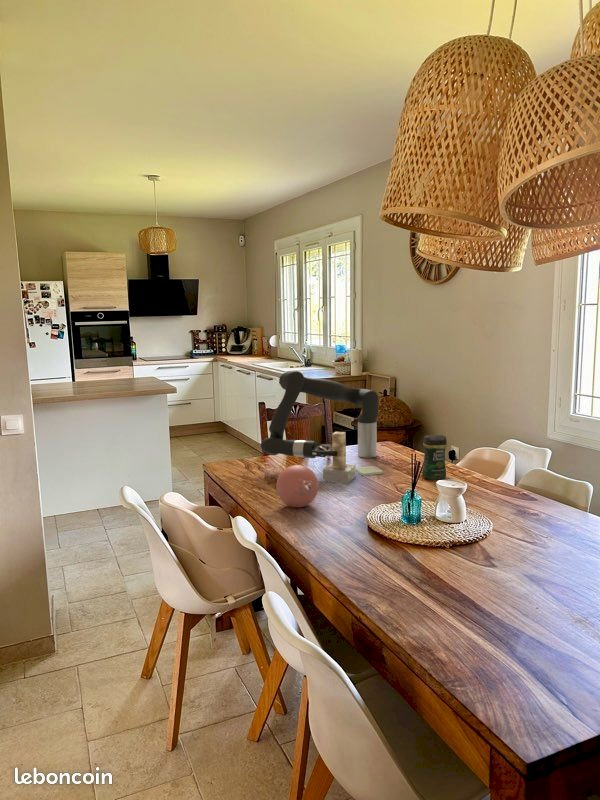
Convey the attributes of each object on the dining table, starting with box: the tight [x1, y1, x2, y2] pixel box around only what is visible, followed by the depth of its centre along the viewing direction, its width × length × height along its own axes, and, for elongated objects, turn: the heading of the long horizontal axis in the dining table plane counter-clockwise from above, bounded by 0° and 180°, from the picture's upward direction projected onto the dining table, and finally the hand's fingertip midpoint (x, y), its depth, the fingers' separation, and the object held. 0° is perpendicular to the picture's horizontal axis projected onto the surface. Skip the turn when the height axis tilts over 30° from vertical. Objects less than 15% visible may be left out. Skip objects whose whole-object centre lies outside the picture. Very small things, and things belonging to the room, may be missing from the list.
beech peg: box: [331, 431, 347, 469], centre depth 242 cm, size 4×4×20 cm
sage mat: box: [355, 465, 384, 477], centre depth 253 cm, size 10×10×1 cm
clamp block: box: [322, 462, 356, 484], centre depth 243 cm, size 11×11×5 cm
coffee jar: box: [421, 434, 448, 481], centre depth 241 cm, size 10×8×19 cm
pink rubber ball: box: [275, 464, 319, 508], centre depth 206 cm, size 15×20×15 cm
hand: (340, 451), depth 242 cm, fingers open, 8 cm apart
